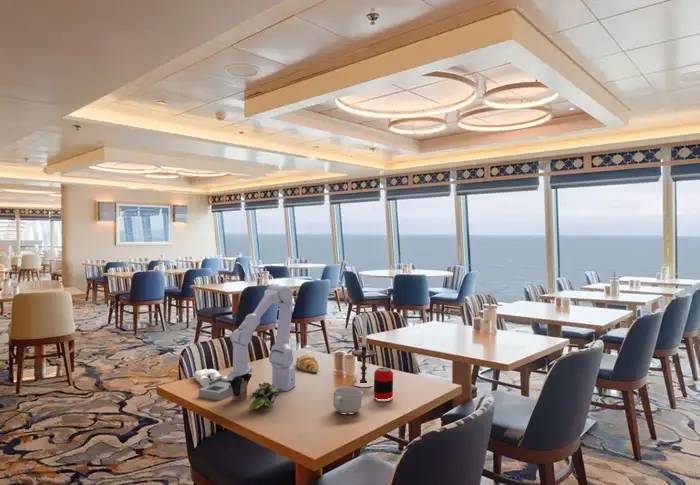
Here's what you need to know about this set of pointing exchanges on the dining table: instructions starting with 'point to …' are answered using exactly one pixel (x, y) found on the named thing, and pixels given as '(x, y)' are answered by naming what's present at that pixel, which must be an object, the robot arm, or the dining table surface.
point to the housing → (216, 390)
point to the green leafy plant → (264, 396)
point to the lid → (226, 377)
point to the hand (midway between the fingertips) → (239, 394)
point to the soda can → (383, 383)
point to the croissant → (307, 363)
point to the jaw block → (241, 391)
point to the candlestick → (364, 349)
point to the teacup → (347, 399)
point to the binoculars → (206, 376)
